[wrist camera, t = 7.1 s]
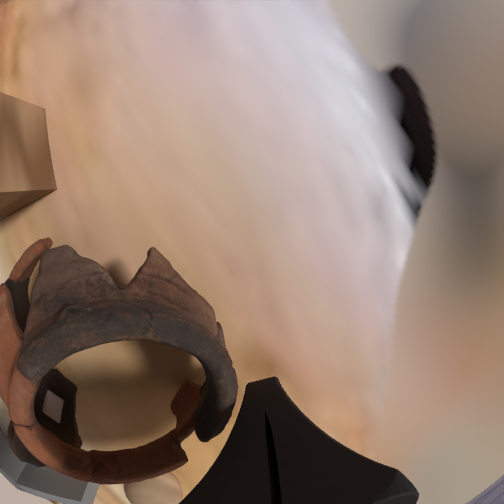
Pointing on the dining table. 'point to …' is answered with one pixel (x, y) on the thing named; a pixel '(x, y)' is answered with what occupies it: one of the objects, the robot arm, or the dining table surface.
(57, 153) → the dining table surface
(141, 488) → the cork ball
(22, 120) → the walnut block
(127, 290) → the pottery mug
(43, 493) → the corral
